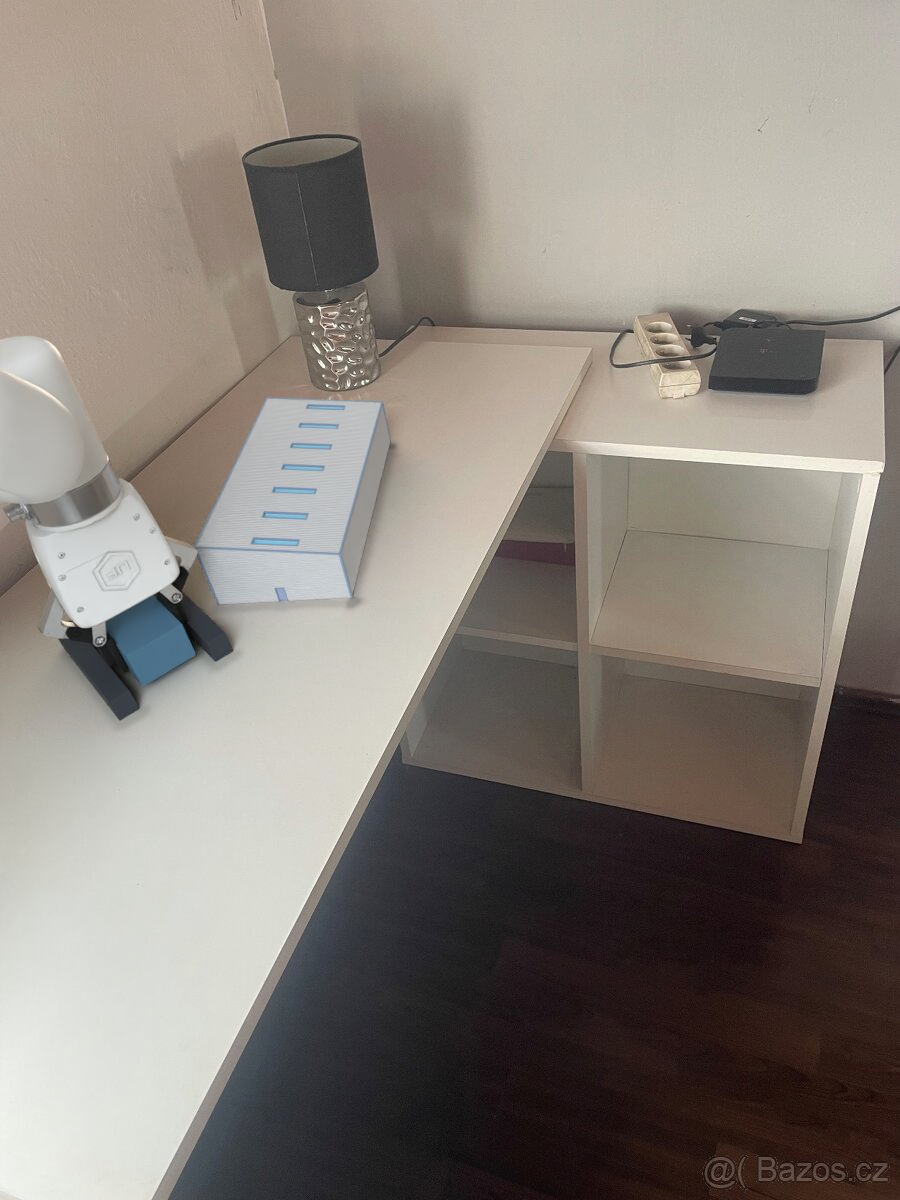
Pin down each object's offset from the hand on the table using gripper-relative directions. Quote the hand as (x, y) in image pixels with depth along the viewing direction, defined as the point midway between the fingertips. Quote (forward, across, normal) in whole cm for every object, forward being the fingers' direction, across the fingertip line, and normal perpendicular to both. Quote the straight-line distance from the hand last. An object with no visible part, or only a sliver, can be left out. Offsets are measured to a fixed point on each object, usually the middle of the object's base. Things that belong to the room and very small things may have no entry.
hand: (150, 646), depth 82 cm
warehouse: (+2, +24, +8) cm, 25 cm away
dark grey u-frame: (+2, 0, +2) cm, 3 cm away
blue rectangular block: (+1, 0, 0) cm, 1 cm away
